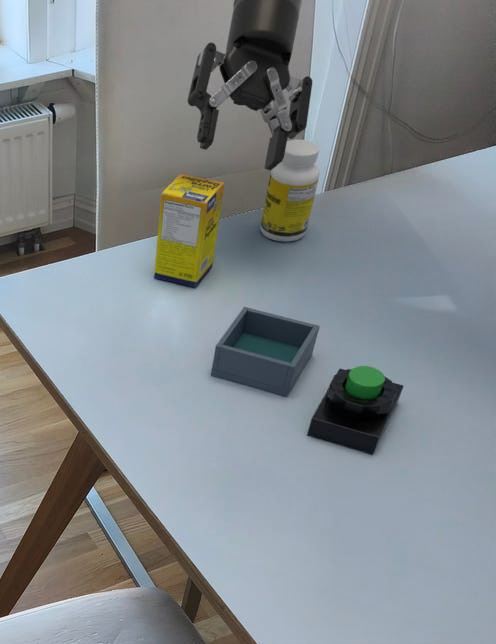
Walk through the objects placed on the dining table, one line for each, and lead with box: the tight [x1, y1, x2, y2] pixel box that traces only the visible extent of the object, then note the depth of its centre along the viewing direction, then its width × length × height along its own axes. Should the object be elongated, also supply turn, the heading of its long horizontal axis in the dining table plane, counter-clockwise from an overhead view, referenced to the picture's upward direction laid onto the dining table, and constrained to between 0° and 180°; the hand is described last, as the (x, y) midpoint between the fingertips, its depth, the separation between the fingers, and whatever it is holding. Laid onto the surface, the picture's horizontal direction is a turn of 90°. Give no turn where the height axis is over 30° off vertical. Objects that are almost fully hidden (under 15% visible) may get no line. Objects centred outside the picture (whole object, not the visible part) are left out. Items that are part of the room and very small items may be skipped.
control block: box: [306, 368, 404, 455], centre depth 93 cm, size 7×10×4 cm
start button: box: [345, 365, 386, 399], centre depth 91 cm, size 4×4×2 cm
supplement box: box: [153, 173, 225, 288], centre depth 110 cm, size 6×6×11 cm
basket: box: [210, 306, 321, 397], centre depth 100 cm, size 9×9×4 cm
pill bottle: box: [260, 139, 320, 243], centre depth 116 cm, size 6×6×11 cm
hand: (239, 157), depth 103 cm, fingers open, 8 cm apart
